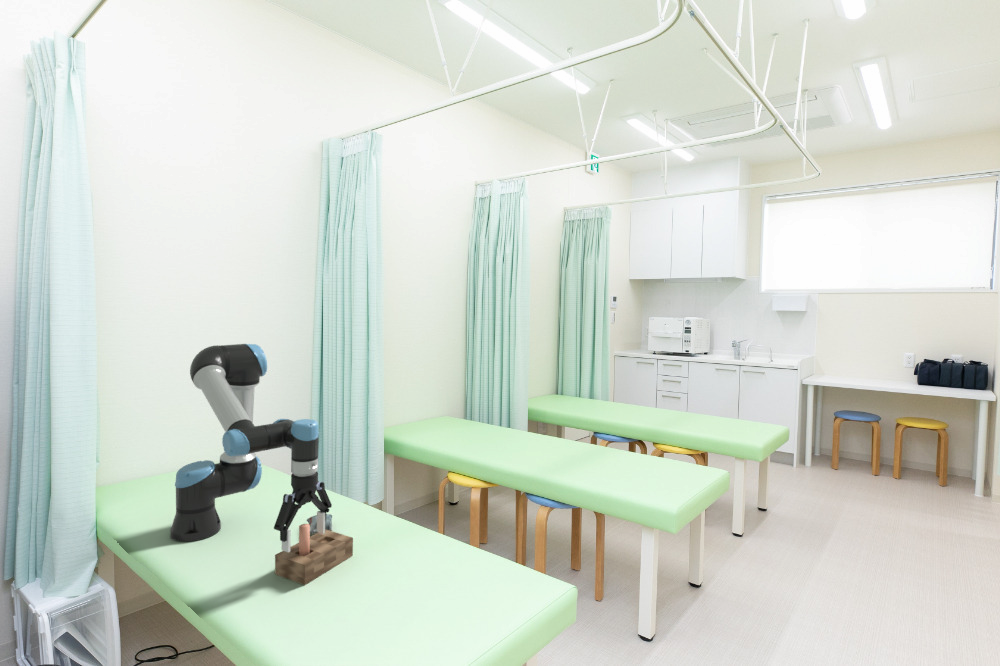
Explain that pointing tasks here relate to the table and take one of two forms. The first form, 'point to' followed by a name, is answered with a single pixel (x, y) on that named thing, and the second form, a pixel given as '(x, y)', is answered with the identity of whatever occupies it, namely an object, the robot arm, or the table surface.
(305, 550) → the dowel
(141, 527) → the table surface
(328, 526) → the packaged food
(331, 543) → the bore block
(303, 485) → the robot arm
